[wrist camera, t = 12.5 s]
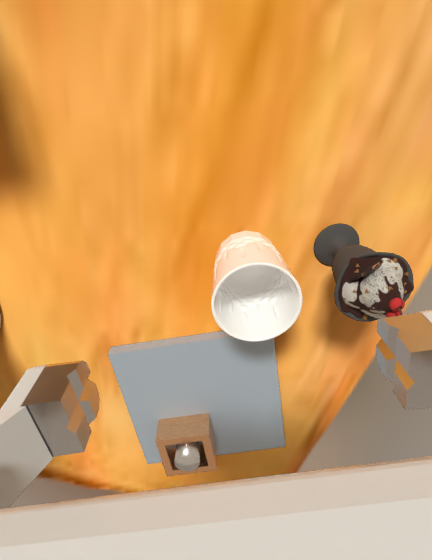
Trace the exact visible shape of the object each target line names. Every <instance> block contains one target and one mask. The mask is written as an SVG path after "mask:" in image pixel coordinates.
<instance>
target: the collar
mask: <svg viewBox="0 0 432 560" xmlns="http://www.w3.org/2000/svg"><path fill="white" fill-rule="evenodd" d="M198 441H202V442H203V444H201V445H200V464H199V467H198V468H197V469H195V470H193V471H182V470H179V469H178V468H177V467H176V466H175V464H174V462H175V451H176V448H175V447H174V445H175V444H183V443H190V442H198ZM155 442H156V445H157V448H158V451H159V454H160V457H161V460H162V463H163V466H164V469H165V472H166V475H167V476H173V475H181V474H189V473H198V472H206V471H214V470H217V447H216V443H215V438H214V434H213V430H212V425H211V421H210V417H209V413H203V414H196V415H188V416H181V417H173V418H166V419H159V420H158V427H157V433H156V440H155Z"/></svg>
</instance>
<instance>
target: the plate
mask: <svg viewBox="0 0 432 560" xmlns="http://www.w3.org/2000/svg"><path fill="white" fill-rule="evenodd" d="M108 356H109V359H110V361H111V364H112V367H113V370H114V372H115V375H116V378H117V381H118V383H119V386H120V389H121V392H122V394H123V397H124V400H125V403H126V406H127V408H128V411H129V414H130V417H131V419H132V422H133V425H134V428H135V430H136V433H137V436H138V439H139V441H140V444H141V447H142V450H143V453H144V455H145V458H146V461H147V464H152V463H160V462H162V460H161V457H160V454H159V451H158V448H157V445H156V442H155V440H156V433H157V427H158V420H159V419H166V418H173V417H181V416H188V415H196V414H203V413H209V417H210V421H211V425H212V430H213V434H214V438H215V443H216V447H217V455H223V454H231V453H239V452H247V451H255V450H263V449H271V448H279V447H285V437H284V428H283V418H282V409H281V399H280V390H279V380H278V371H277V361H276V352H275V342H274V338H272V339H269V340H265V341H257V342H251V341H244V340H240V339H237V338H234V337H232V336H230V335H229V334H227V333H226V332H224V331H218V332H212V333H205V334H198V335H191V336H184V337H177V338H170V339H163V340H156V341H149V342H142V343H135V344H128V345H121V346H114V347H111V348H110V351H109V353H108ZM201 444H203V442H202V441H200V445H201ZM174 447H175V448H176V444H175V445H174Z"/></svg>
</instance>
